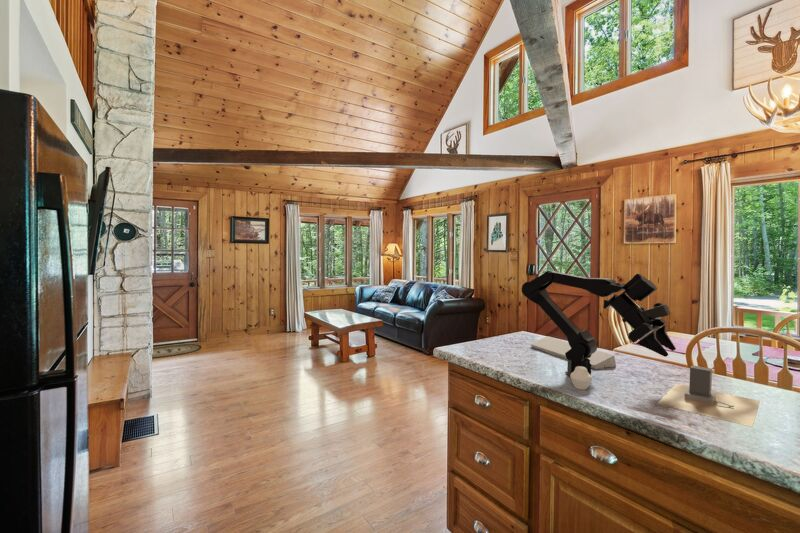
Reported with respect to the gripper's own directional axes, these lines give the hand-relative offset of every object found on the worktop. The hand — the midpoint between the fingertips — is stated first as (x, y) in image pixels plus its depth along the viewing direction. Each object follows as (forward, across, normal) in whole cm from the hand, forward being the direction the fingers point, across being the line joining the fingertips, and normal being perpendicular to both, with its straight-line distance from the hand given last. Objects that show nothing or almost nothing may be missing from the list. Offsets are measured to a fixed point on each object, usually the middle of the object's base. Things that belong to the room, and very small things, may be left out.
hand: (670, 352), depth 110 cm
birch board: (+16, 0, +3) cm, 16 cm away
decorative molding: (-18, +24, +37) cm, 48 cm away
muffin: (-5, -11, +24) cm, 27 cm away
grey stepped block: (+13, 0, +4) cm, 14 cm away
